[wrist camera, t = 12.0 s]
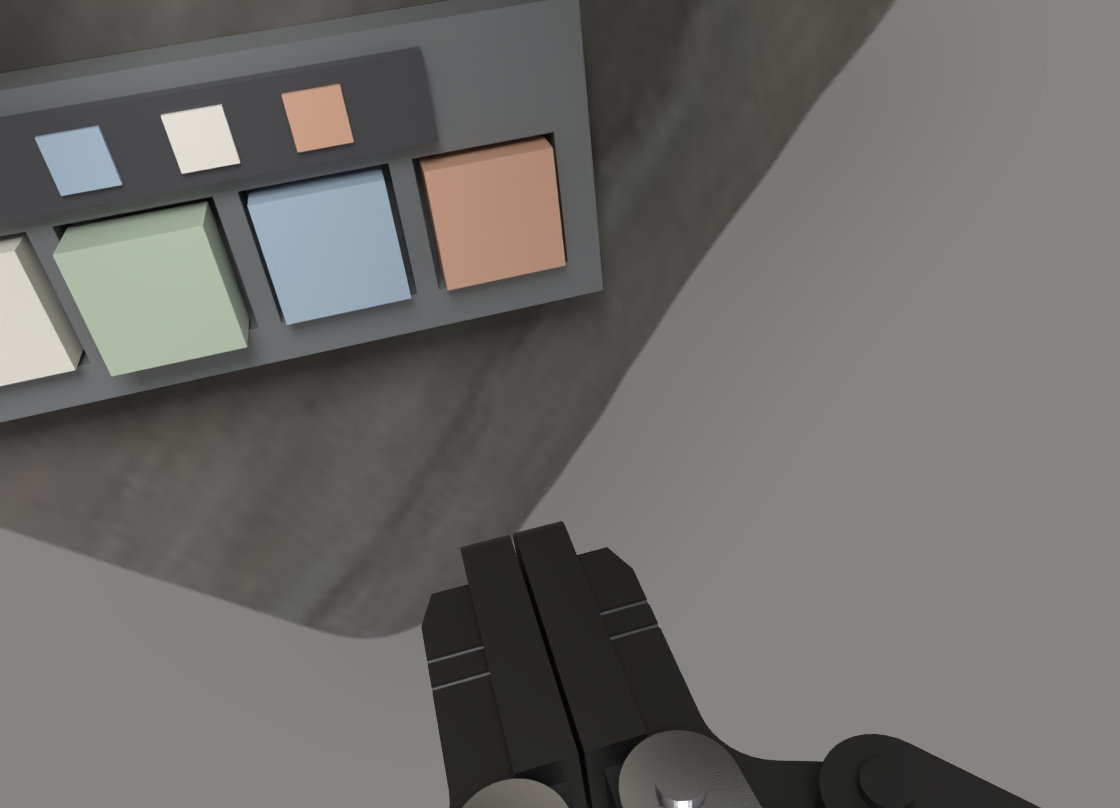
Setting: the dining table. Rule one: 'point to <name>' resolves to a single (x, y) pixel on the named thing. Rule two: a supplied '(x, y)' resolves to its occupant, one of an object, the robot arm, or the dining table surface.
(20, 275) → the key cream
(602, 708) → the robot arm
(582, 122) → the keypad board
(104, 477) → the dining table surface
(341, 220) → the key blue
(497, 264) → the block
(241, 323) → the key sage
